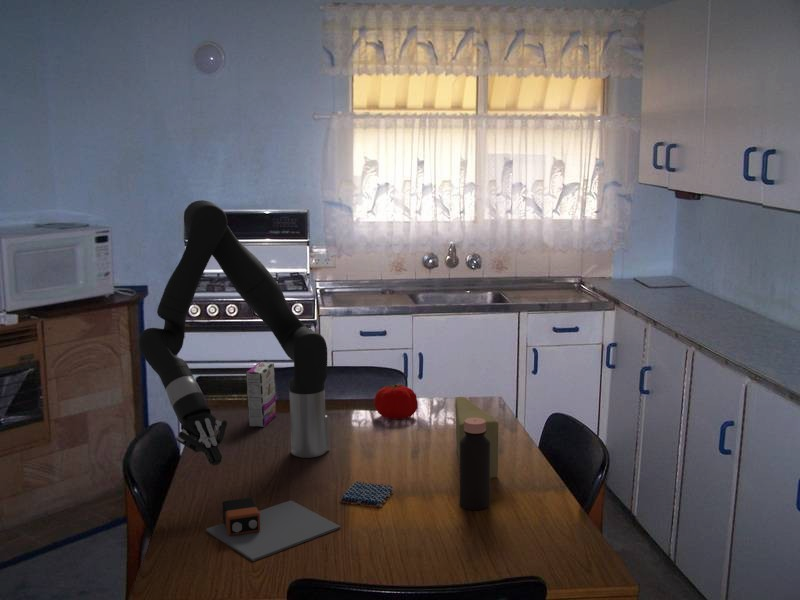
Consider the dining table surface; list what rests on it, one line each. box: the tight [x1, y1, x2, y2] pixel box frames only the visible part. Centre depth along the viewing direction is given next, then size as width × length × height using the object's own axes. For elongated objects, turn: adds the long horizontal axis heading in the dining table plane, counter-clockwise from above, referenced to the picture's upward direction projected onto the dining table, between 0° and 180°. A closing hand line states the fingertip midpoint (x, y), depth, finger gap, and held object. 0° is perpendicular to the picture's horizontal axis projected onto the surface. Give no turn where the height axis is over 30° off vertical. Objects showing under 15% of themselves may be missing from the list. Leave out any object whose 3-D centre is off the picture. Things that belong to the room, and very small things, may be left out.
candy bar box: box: [245, 361, 278, 428], centre depth 263 cm, size 11×5×16 cm, turn 168°
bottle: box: [459, 417, 491, 511], centre depth 204 cm, size 7×7×20 cm
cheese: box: [455, 396, 499, 479], centre depth 229 cm, size 22×10×15 cm, turn 9°
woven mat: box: [339, 480, 395, 508], centre depth 211 cm, size 10×11×2 cm
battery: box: [221, 497, 260, 536], centre depth 194 cm, size 4×7×10 cm
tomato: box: [373, 383, 419, 420], centre depth 266 cm, size 11×13×10 cm
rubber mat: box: [205, 499, 341, 562], centre depth 194 cm, size 22×18×1 cm
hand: (217, 463), depth 205 cm, fingers closed
